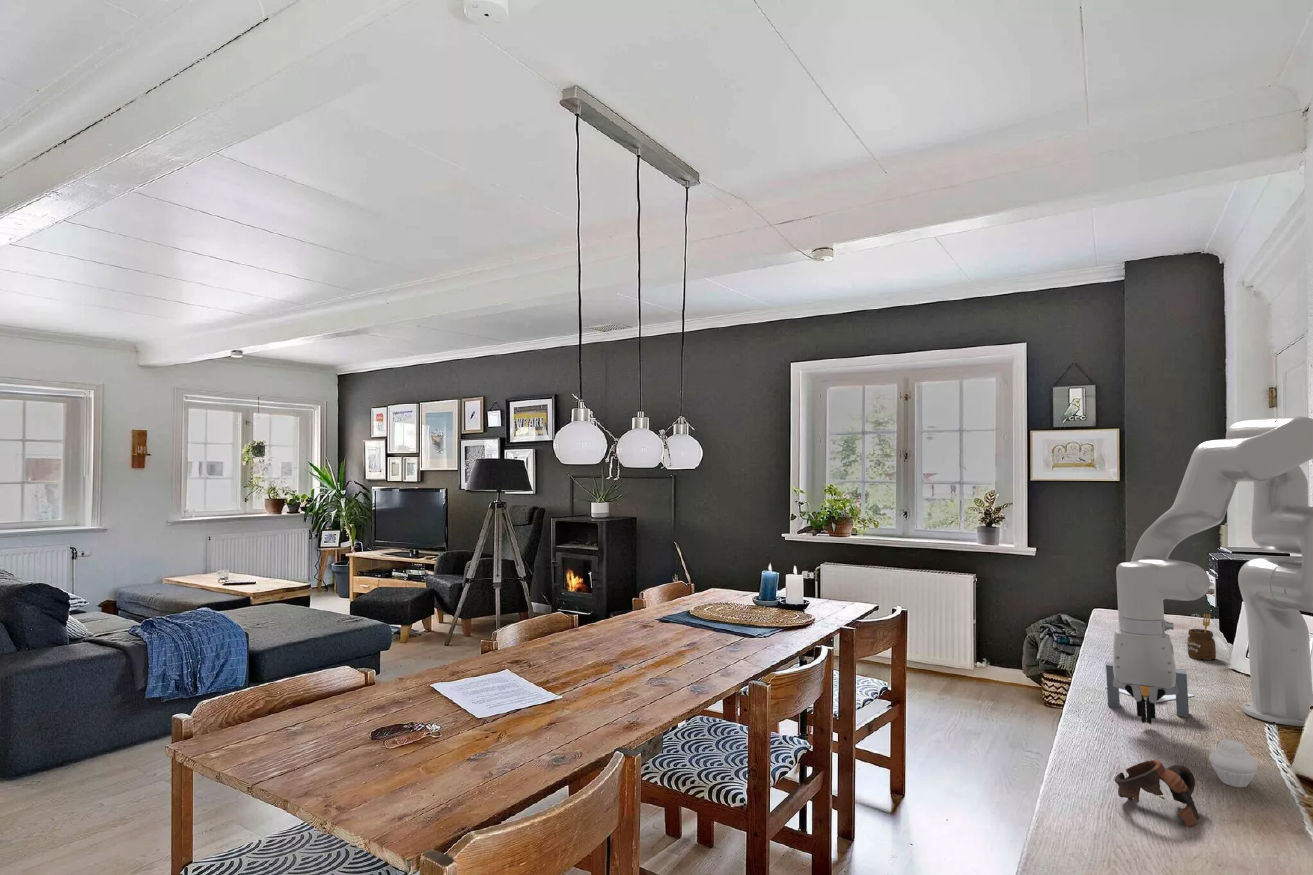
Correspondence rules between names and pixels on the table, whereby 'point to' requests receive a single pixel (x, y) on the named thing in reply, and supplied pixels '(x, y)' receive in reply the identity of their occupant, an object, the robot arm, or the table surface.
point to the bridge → (1180, 697)
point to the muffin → (1233, 763)
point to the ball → (1145, 690)
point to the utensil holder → (1201, 642)
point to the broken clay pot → (1149, 781)
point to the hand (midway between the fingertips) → (1146, 721)
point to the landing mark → (1164, 698)
